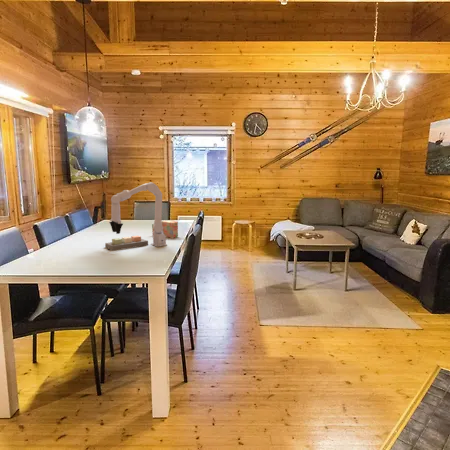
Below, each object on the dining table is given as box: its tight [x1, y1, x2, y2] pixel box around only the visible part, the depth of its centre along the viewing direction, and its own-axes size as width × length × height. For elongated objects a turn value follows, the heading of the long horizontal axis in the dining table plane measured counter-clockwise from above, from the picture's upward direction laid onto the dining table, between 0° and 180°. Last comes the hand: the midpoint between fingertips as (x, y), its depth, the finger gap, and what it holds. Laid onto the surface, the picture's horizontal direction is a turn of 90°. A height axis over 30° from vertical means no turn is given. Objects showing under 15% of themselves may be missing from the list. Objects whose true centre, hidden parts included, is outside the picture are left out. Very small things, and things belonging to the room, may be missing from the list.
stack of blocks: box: [151, 220, 179, 239], centre depth 279 cm, size 21×6×12 cm, turn 60°
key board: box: [104, 238, 149, 251], centre depth 244 cm, size 12×26×3 cm, turn 129°
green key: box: [111, 237, 122, 245], centre depth 239 cm, size 5×5×3 cm
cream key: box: [121, 236, 132, 243], centre depth 244 cm, size 5×5×3 cm
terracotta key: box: [130, 235, 142, 242], centre depth 248 cm, size 5×5×3 cm
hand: (116, 232), depth 240 cm, fingers open, 7 cm apart
